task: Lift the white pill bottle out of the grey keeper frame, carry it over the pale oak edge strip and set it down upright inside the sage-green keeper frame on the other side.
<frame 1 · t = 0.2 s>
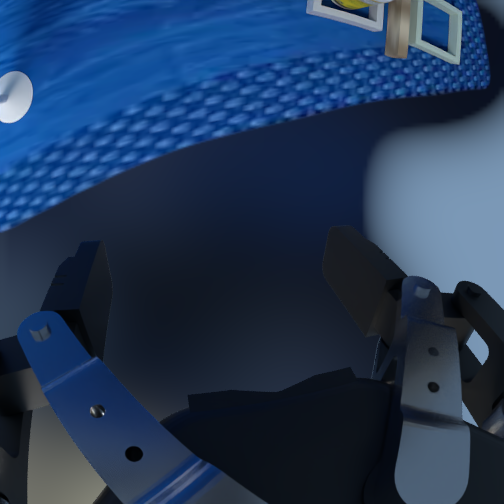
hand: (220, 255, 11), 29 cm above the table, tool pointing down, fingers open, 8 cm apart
champagne flute: (11, 97, 27), on the table
keeper b: (432, 26, 33), on the table
edge strip: (392, 8, 31), on the table
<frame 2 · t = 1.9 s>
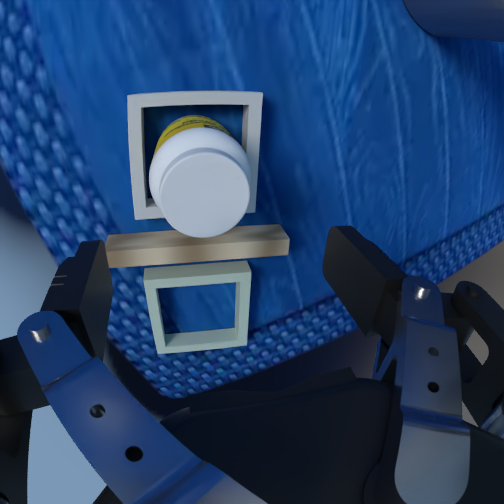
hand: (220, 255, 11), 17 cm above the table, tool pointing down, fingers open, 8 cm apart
keeper b: (198, 304, 33), on the table
keeper a: (193, 150, 25), on the table
pill bottle: (193, 149, 25), resting in keeper a
edge strip: (194, 236, 29), on the table
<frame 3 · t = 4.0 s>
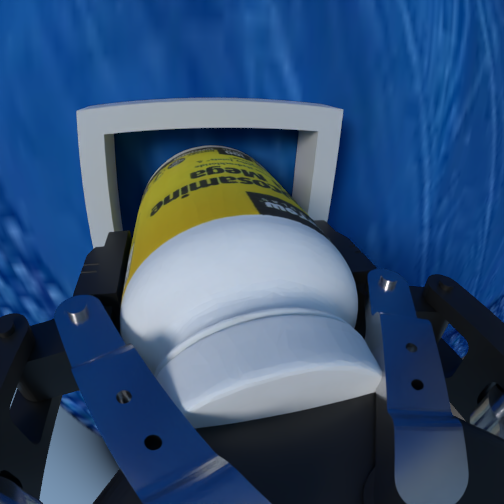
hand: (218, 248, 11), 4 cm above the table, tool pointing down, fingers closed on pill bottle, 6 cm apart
keeper a: (207, 208, 14), on the table
pill bottle: (207, 206, 15), resting in keeper a, touching gripper
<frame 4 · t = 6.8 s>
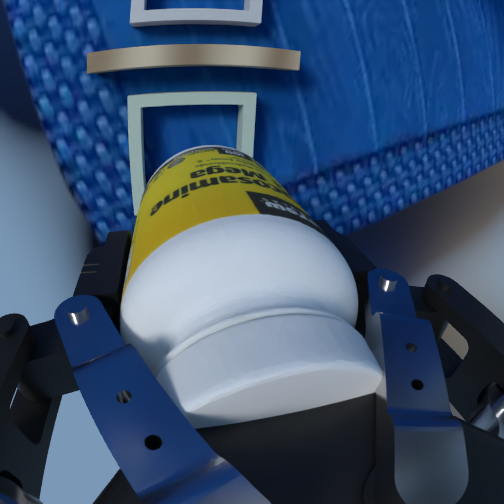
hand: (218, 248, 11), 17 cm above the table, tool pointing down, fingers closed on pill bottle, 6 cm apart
keeper b: (190, 148, 26), on the table
pill bottle: (207, 206, 15), point 14 cm above the table, touching gripper
edge strip: (192, 57, 22), on the table
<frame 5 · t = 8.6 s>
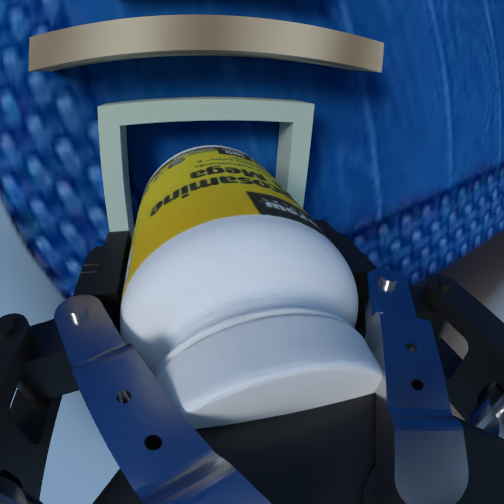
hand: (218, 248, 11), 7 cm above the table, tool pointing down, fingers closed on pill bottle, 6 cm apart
keeper b: (203, 188, 17), on the table
pill bottle: (207, 206, 15), point 3 cm above the table, touching gripper
edge strip: (207, 40, 13), on the table
when the fingers open (5 cm above the table, at t = 10.1 s): pill bottle stays where it is, resting in keeper b.
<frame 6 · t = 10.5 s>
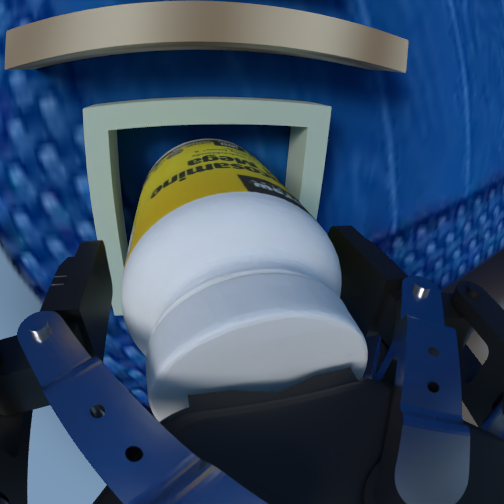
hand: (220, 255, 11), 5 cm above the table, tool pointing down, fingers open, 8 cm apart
keeper b: (204, 200, 15), on the table
pill bottle: (204, 196, 15), resting in keeper b
edge strip: (209, 33, 11), on the table
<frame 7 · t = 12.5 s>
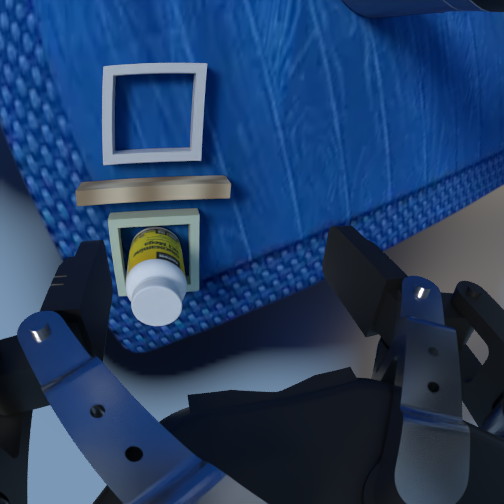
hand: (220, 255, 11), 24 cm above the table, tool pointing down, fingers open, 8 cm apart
keeper b: (155, 249, 37), on the table
keeper a: (153, 111, 29), on the table
pill bottle: (155, 247, 37), resting in keeper b
edge strip: (152, 184, 33), on the table
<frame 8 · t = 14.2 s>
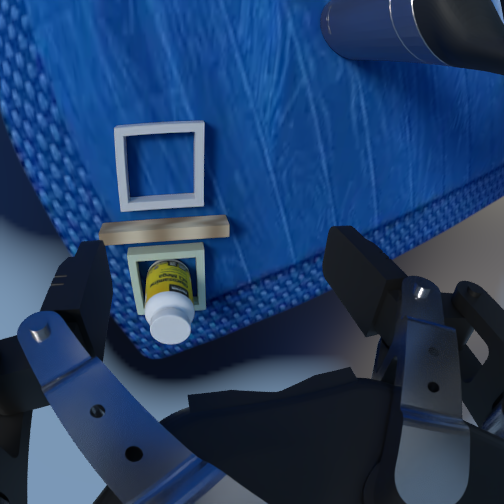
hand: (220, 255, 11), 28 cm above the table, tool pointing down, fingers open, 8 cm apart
keeper b: (168, 276, 44), on the table
keeper a: (160, 163, 36), on the table
pill bottle: (168, 274, 44), resting in keeper b
edge strip: (163, 224, 40), on the table
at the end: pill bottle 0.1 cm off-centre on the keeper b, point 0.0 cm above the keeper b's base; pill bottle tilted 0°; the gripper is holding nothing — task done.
